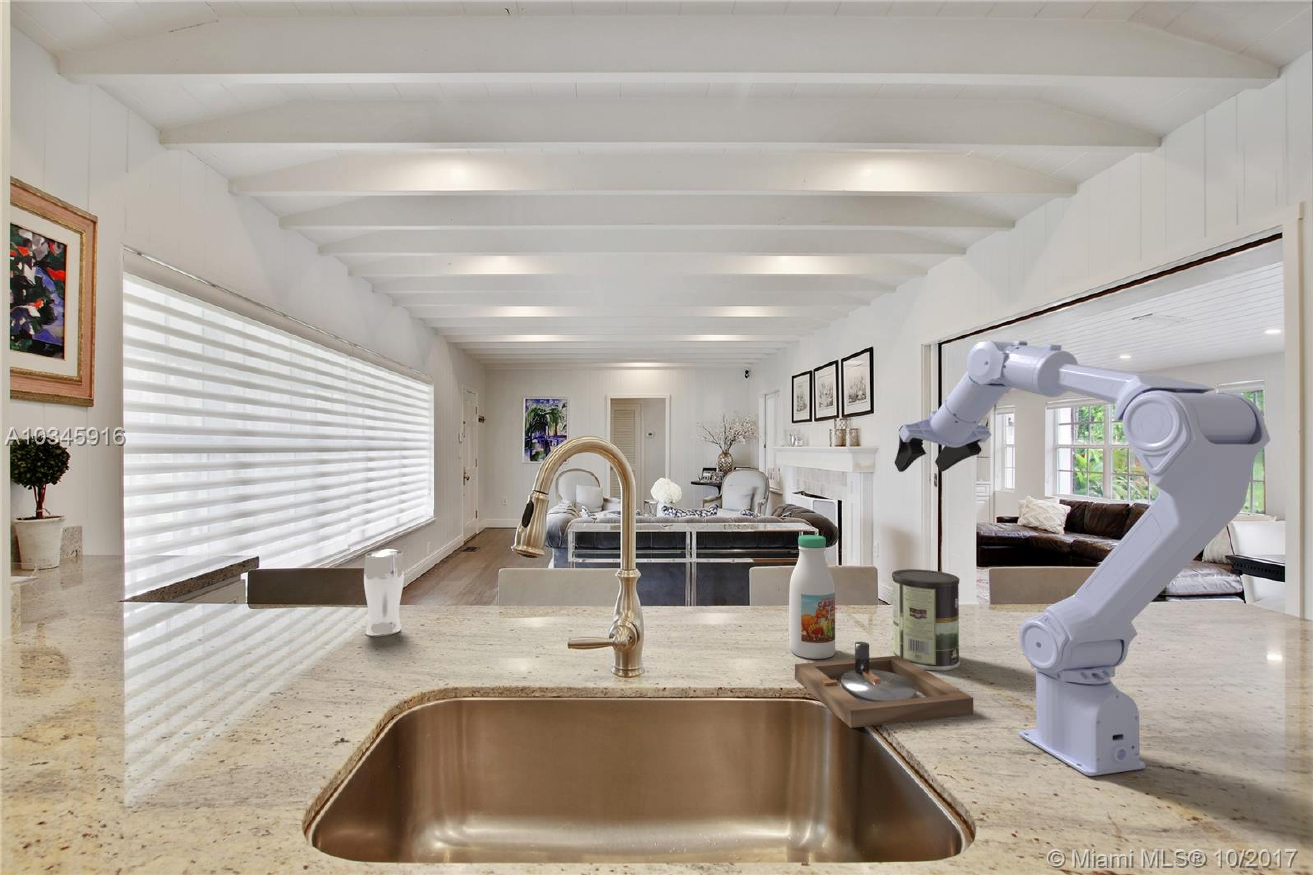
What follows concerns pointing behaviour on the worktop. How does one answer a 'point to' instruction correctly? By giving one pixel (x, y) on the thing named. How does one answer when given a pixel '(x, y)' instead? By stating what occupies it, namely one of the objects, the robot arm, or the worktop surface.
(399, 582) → the beer glass
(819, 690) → the frame
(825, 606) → the milk bottle
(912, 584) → the coffee can
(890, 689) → the dial
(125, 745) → the worktop surface
